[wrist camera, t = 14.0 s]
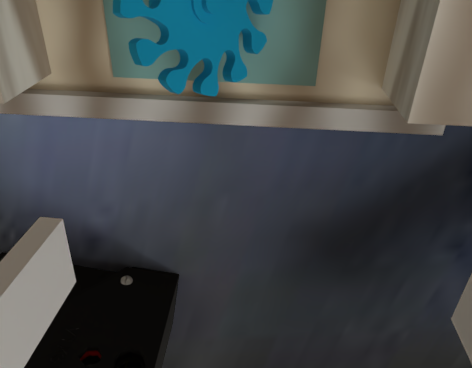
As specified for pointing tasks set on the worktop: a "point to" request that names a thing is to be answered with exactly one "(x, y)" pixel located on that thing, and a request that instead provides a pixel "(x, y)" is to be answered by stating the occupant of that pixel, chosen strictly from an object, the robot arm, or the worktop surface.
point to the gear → (196, 38)
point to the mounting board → (250, 66)
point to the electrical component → (110, 321)
